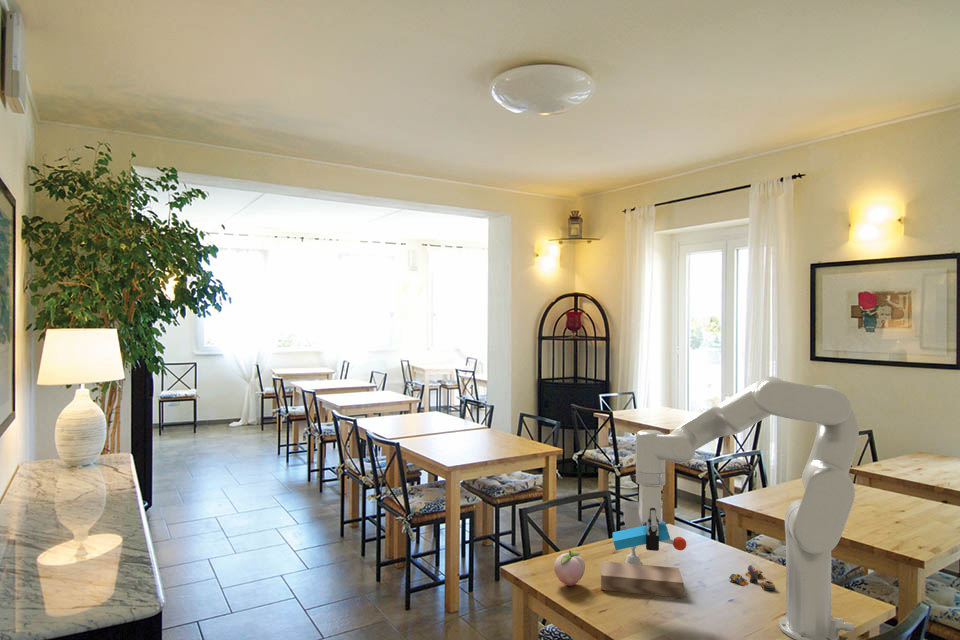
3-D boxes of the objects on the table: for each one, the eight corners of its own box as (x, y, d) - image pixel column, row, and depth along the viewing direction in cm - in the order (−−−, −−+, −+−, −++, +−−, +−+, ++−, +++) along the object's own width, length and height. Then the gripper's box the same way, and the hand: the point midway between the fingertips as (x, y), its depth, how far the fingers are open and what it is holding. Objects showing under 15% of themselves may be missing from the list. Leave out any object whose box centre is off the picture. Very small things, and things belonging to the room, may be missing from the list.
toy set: (756, 598, 158) (756, 580, 158) (724, 581, 169) (724, 564, 169) (788, 591, 162) (788, 574, 163) (755, 575, 173) (755, 559, 173)
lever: (620, 567, 151) (690, 553, 147) (613, 541, 151) (681, 526, 148) (619, 557, 158) (686, 543, 154) (612, 532, 158) (678, 518, 155)
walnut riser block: (678, 581, 167) (678, 567, 167) (683, 597, 157) (683, 582, 157) (600, 574, 171) (600, 561, 171) (601, 589, 161) (601, 575, 161)
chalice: (617, 559, 182) (617, 502, 182) (634, 556, 185) (634, 500, 185) (632, 568, 175) (632, 509, 176) (649, 565, 178) (649, 506, 179)
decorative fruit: (561, 576, 170) (562, 542, 170) (588, 582, 165) (588, 548, 166) (548, 588, 162) (548, 552, 162) (576, 595, 157) (576, 559, 157)
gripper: (633, 469, 162) (633, 532, 162) (639, 485, 145) (639, 556, 145) (660, 470, 161) (661, 534, 161) (670, 486, 144) (670, 558, 144)
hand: (650, 544), depth 153 cm, fingers closed on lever, 7 cm apart
